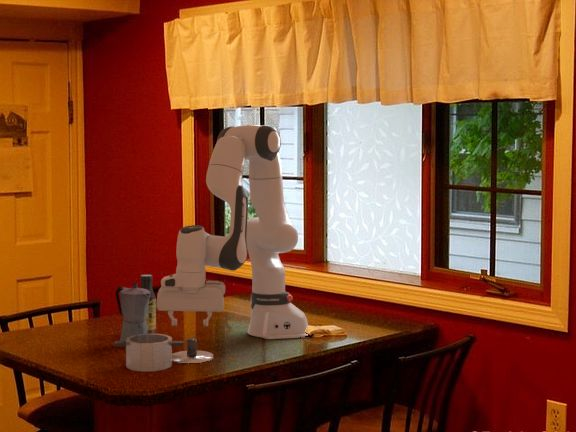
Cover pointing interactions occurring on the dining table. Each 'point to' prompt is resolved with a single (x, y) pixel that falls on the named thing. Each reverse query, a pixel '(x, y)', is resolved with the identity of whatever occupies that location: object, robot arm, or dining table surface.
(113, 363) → the dining table surface
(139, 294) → the moka pot
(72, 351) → the dining table surface
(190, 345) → the lid
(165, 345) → the pot
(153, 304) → the sauce bottle
